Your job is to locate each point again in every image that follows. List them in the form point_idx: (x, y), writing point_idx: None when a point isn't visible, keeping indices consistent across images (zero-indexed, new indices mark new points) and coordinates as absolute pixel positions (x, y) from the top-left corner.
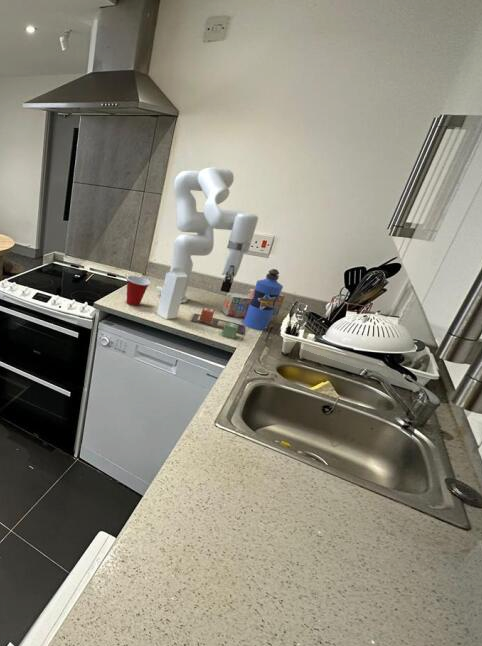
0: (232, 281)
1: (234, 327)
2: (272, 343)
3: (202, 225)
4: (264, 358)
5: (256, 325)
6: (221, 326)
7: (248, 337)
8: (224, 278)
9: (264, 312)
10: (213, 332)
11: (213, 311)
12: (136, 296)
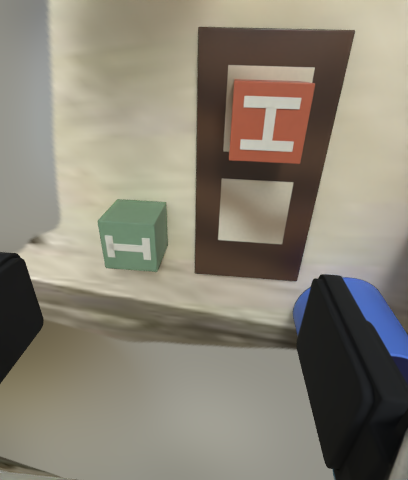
0: (317, 412)
1: (106, 256)
2: (184, 339)
3: None
4: None
5: (295, 321)
6: (213, 196)
7: (181, 284)
8: (358, 352)
9: None
10: (126, 164)
11: (259, 157)
12: None
